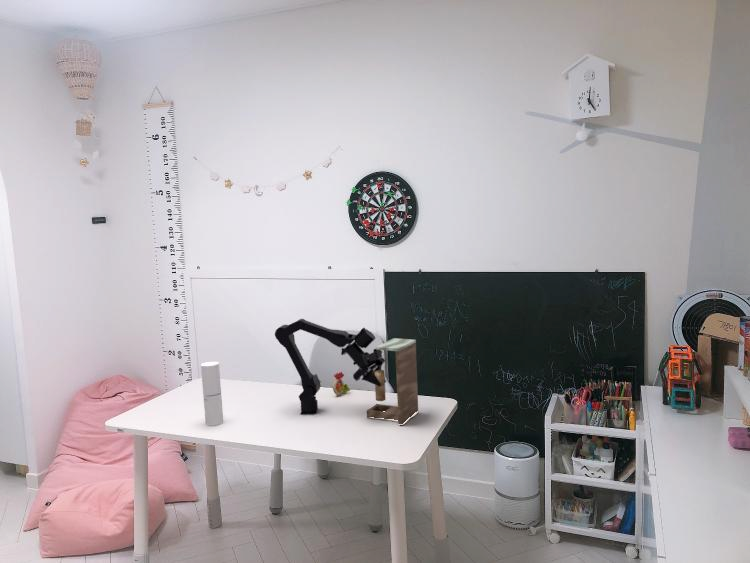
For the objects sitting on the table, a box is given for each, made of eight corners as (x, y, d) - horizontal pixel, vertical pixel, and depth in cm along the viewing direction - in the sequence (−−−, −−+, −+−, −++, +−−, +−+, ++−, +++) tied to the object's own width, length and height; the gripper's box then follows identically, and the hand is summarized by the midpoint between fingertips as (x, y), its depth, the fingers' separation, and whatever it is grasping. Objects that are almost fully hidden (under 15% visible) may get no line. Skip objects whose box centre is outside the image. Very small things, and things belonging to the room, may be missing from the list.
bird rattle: (344, 401, 276) (352, 388, 283) (338, 382, 271) (346, 369, 277) (332, 400, 279) (341, 387, 285) (326, 381, 273) (335, 368, 280)
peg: (375, 401, 246) (374, 372, 244) (375, 398, 250) (374, 369, 248) (385, 400, 245) (384, 372, 244) (385, 397, 249) (384, 369, 248)
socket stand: (362, 420, 244) (359, 345, 240) (380, 408, 258) (377, 337, 254) (401, 426, 236) (398, 348, 232) (418, 413, 250) (415, 339, 246)
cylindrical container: (218, 426, 245) (213, 366, 242) (202, 425, 246) (197, 366, 243) (226, 420, 252) (221, 361, 249) (210, 419, 253) (205, 361, 250)
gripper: (358, 348, 238) (384, 378, 234) (380, 338, 255) (404, 366, 251) (342, 366, 243) (367, 395, 239) (364, 355, 259) (388, 382, 255)
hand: (382, 384), depth 246 cm, fingers closed on peg, 4 cm apart
